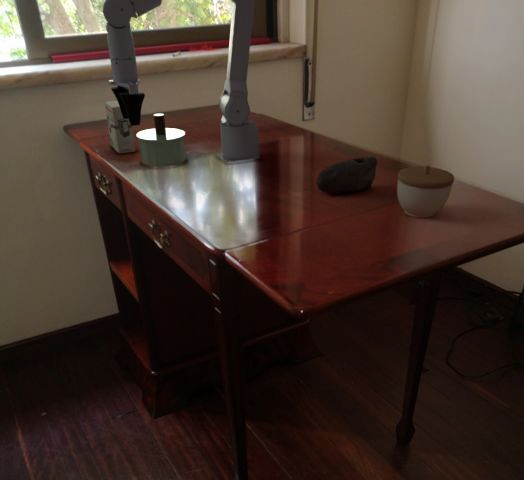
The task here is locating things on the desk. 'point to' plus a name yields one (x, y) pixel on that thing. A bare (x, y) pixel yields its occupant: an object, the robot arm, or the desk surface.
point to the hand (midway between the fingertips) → (131, 121)
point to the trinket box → (423, 190)
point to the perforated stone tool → (348, 176)
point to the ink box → (119, 129)
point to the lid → (160, 132)
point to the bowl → (162, 152)
